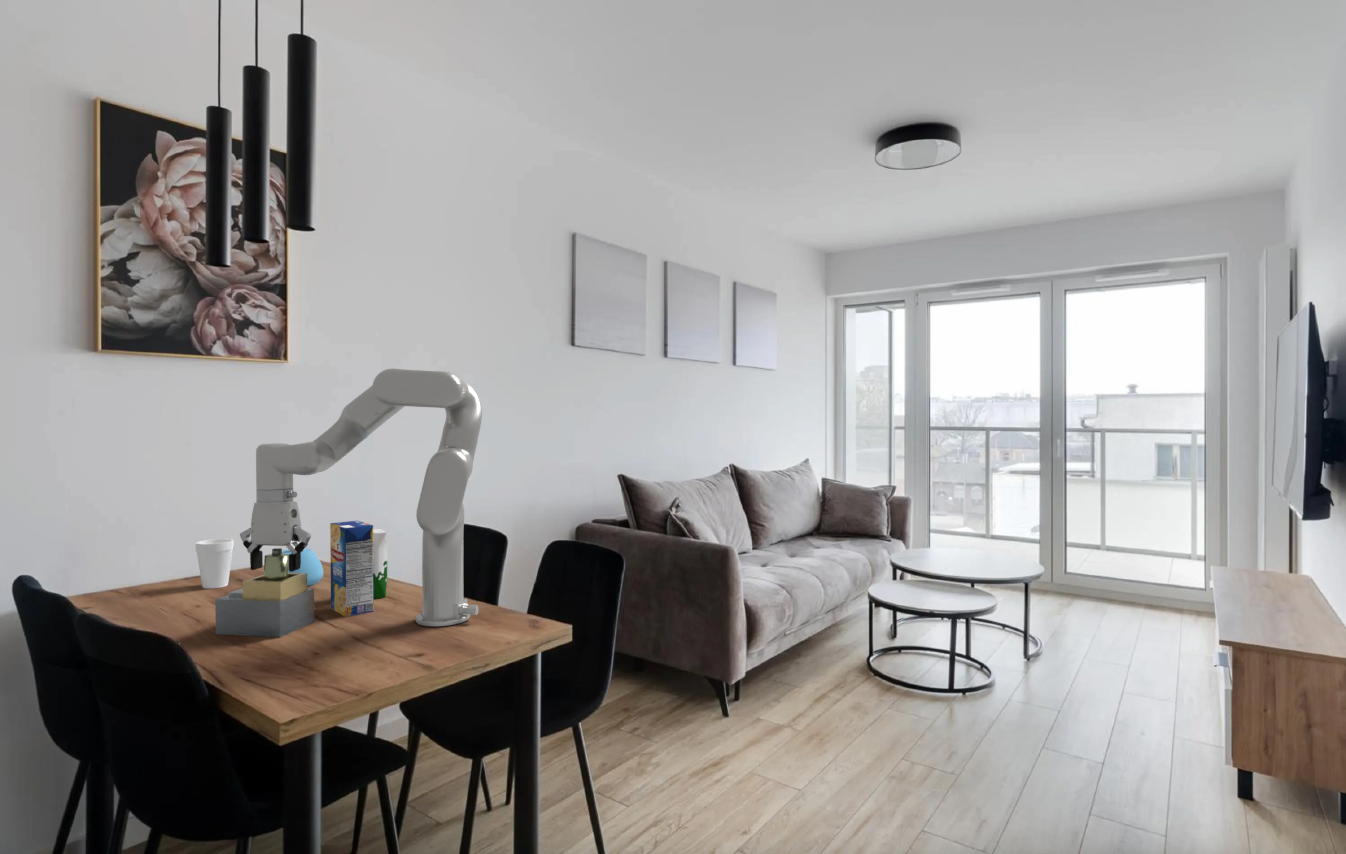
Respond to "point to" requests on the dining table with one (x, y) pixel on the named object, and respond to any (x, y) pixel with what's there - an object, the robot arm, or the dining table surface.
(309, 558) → the sugar bowl
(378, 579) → the milk carton
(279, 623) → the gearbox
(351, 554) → the beverage box
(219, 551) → the foam cup
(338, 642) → the dining table surface
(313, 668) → the dining table surface
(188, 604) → the dining table surface
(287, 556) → the green bottle
